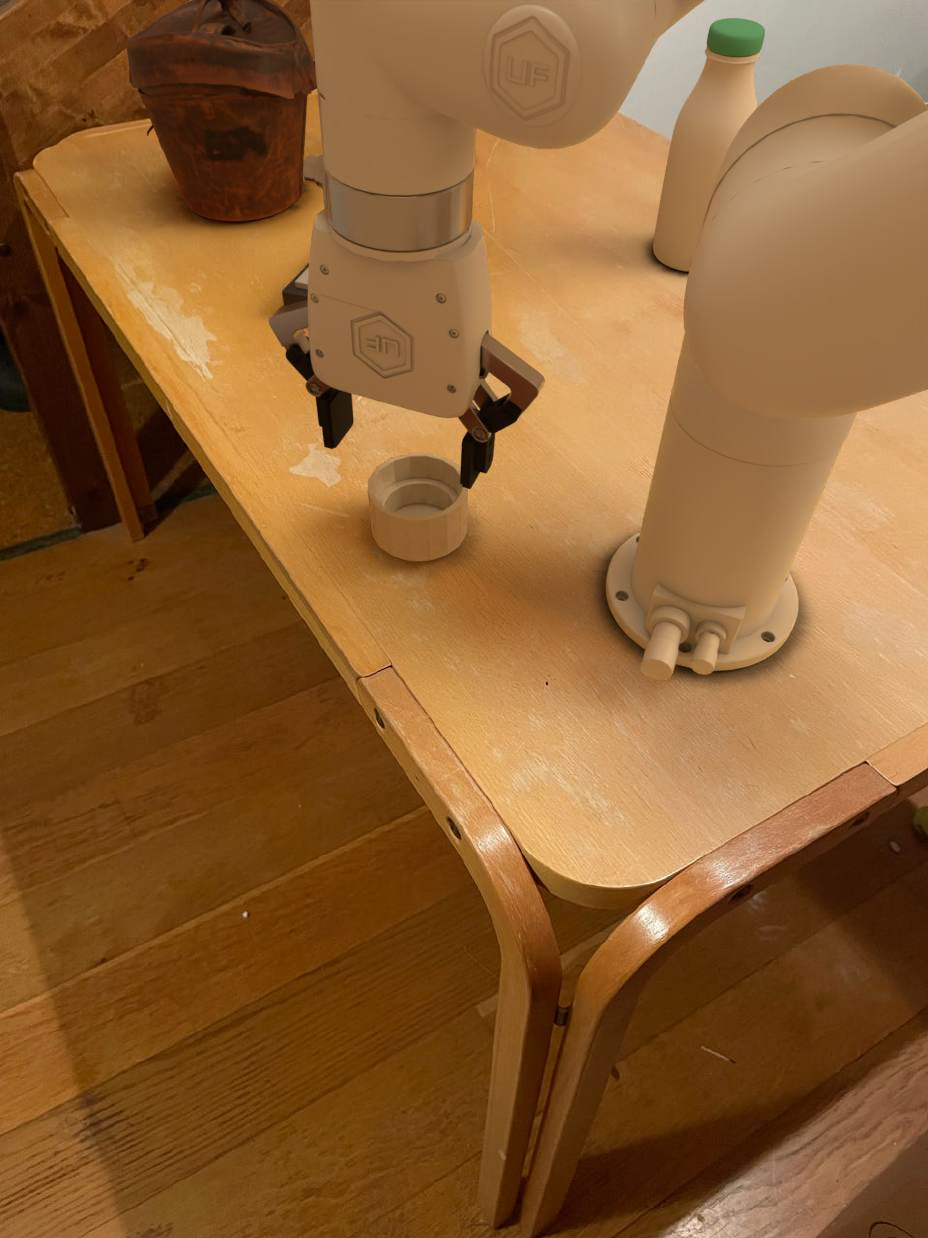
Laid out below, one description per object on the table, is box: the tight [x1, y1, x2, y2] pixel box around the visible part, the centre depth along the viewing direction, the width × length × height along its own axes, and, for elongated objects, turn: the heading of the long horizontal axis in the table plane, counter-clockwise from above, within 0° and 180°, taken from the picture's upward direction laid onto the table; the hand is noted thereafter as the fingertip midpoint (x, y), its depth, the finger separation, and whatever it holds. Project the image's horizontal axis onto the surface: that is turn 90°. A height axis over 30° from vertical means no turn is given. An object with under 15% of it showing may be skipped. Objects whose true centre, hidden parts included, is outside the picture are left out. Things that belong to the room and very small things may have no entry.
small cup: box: [366, 452, 469, 562], centre depth 63 cm, size 7×7×4 cm
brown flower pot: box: [125, 0, 317, 222], centre depth 90 cm, size 18×20×18 cm
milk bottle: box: [652, 17, 766, 273], centre depth 82 cm, size 8×8×20 cm
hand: (405, 455), depth 59 cm, fingers open, 9 cm apart
